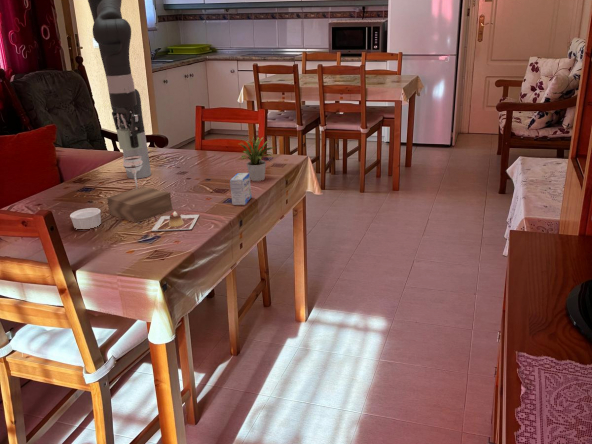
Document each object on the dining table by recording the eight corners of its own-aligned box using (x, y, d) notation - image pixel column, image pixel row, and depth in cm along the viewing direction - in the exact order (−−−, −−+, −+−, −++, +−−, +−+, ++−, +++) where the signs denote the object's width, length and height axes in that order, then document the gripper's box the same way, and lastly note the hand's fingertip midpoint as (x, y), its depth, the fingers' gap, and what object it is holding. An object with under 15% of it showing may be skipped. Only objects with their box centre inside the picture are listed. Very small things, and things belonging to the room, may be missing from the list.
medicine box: (245, 205, 184) (242, 179, 181) (232, 205, 185) (229, 179, 182) (251, 197, 191) (249, 172, 188) (239, 197, 192) (236, 172, 189)
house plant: (251, 188, 201) (247, 142, 195) (229, 181, 211) (224, 137, 205) (282, 179, 209) (279, 135, 203) (259, 172, 219) (256, 130, 213)
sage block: (119, 148, 177) (116, 129, 175) (134, 145, 180) (131, 126, 178) (127, 151, 173) (124, 131, 171) (142, 147, 177) (139, 128, 174)
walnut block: (110, 215, 184) (106, 197, 181) (146, 203, 193) (143, 186, 191) (136, 223, 175) (133, 205, 173) (172, 210, 185) (170, 192, 183)
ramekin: (85, 233, 169) (82, 219, 168) (66, 228, 174) (63, 215, 172) (109, 223, 176) (106, 210, 175) (90, 219, 181) (87, 206, 179)
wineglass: (150, 189, 207) (145, 156, 203) (134, 194, 203) (128, 161, 198) (140, 186, 212) (135, 154, 207) (124, 191, 207) (118, 158, 203)
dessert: (161, 219, 178) (159, 204, 176) (200, 217, 177) (198, 203, 176) (151, 234, 167) (148, 218, 165) (192, 232, 166) (190, 216, 165)
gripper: (99, 90, 173) (108, 145, 179) (121, 93, 163) (130, 152, 169) (122, 87, 178) (130, 141, 184) (145, 90, 168) (153, 147, 174)
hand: (130, 146), depth 176 cm, fingers closed on sage block, 5 cm apart
